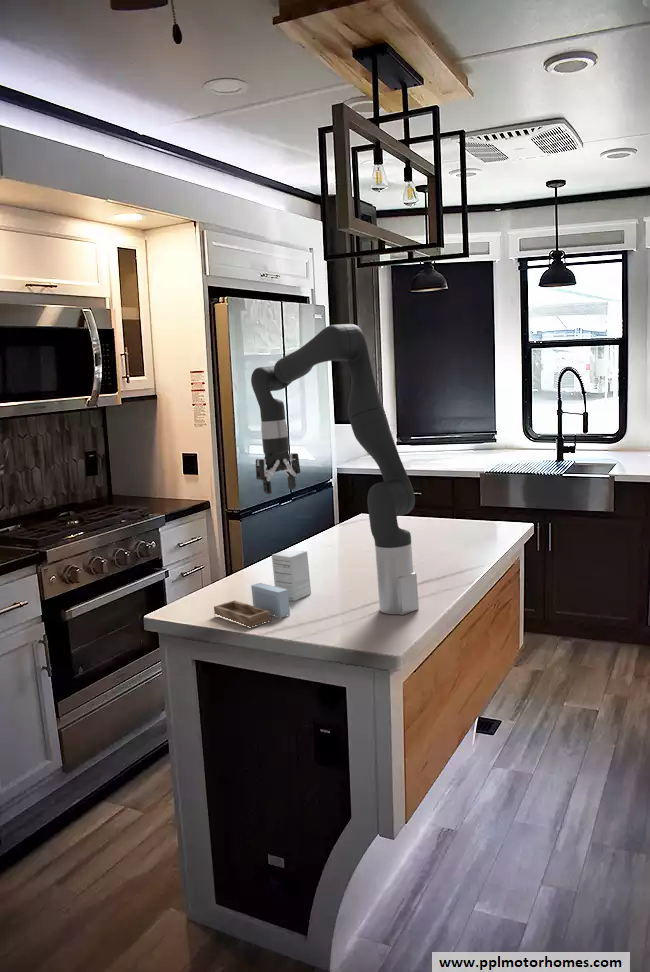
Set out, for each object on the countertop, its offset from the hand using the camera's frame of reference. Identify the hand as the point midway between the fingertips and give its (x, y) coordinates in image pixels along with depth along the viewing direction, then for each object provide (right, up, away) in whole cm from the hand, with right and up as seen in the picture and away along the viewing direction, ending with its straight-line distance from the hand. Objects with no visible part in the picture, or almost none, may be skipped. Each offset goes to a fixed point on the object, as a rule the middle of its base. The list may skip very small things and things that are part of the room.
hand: (280, 491), depth 233 cm
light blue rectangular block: (-1, -32, -22) cm, 39 cm away
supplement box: (+4, -30, -8) cm, 31 cm away
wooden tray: (-8, -33, -25) cm, 42 cm away
